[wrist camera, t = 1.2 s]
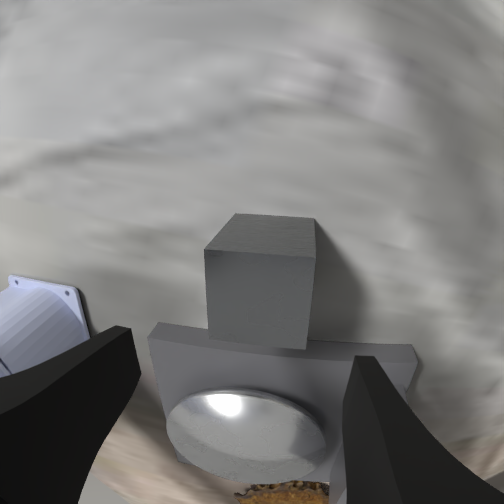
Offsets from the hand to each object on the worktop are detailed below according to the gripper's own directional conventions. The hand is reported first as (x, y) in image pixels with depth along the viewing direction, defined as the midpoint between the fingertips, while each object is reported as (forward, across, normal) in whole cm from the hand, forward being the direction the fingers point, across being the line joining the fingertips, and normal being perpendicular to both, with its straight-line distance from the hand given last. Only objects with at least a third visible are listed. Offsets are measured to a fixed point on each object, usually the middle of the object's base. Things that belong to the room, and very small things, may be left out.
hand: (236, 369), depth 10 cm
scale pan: (+7, +1, +14) cm, 16 cm away
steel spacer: (+10, 0, 0) cm, 10 cm away
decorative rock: (+11, -4, +32) cm, 34 cm away
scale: (+10, -1, +14) cm, 17 cm away
